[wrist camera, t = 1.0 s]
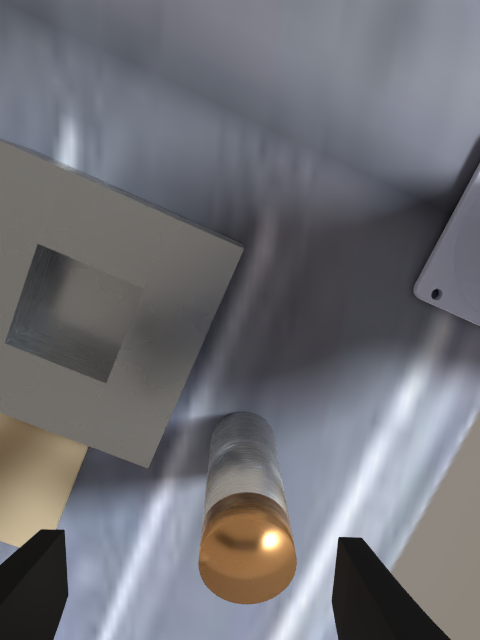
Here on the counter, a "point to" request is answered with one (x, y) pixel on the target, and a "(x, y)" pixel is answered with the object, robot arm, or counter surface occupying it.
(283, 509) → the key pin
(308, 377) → the counter surface
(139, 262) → the block
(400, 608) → the robot arm
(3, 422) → the cork mat
